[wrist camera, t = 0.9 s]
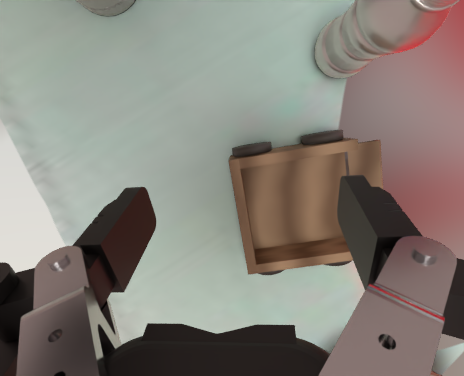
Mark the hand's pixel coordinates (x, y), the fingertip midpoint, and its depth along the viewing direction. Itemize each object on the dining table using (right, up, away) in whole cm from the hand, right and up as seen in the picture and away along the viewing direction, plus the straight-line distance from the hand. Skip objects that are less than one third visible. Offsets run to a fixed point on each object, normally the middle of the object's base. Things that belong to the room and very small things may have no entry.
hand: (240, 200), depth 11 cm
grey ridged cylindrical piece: (+13, +18, +23) cm, 32 cm away
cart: (+11, -1, +27) cm, 29 cm away
